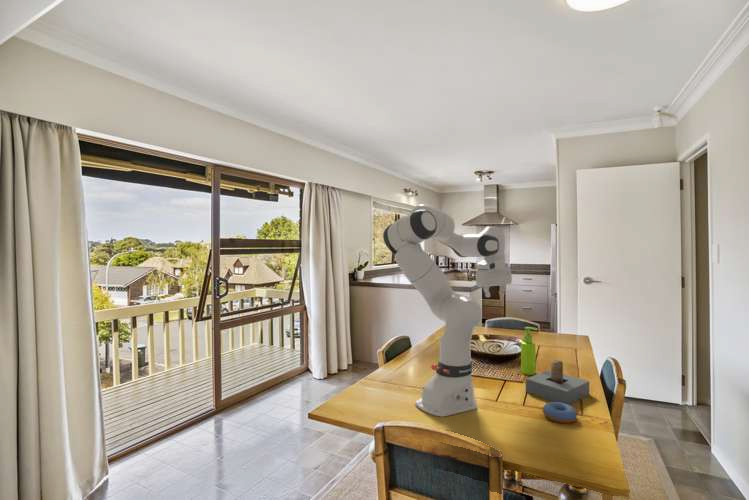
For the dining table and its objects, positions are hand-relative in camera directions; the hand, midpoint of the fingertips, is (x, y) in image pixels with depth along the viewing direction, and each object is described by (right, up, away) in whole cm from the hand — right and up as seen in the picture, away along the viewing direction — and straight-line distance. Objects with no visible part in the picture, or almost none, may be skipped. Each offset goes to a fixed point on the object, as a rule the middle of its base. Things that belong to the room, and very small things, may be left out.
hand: (494, 296), depth 166 cm
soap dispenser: (+16, -34, +2) cm, 37 cm away
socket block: (+17, -34, -21) cm, 43 cm away
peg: (+17, -34, -21) cm, 43 cm away
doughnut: (+8, -35, -40) cm, 54 cm away
